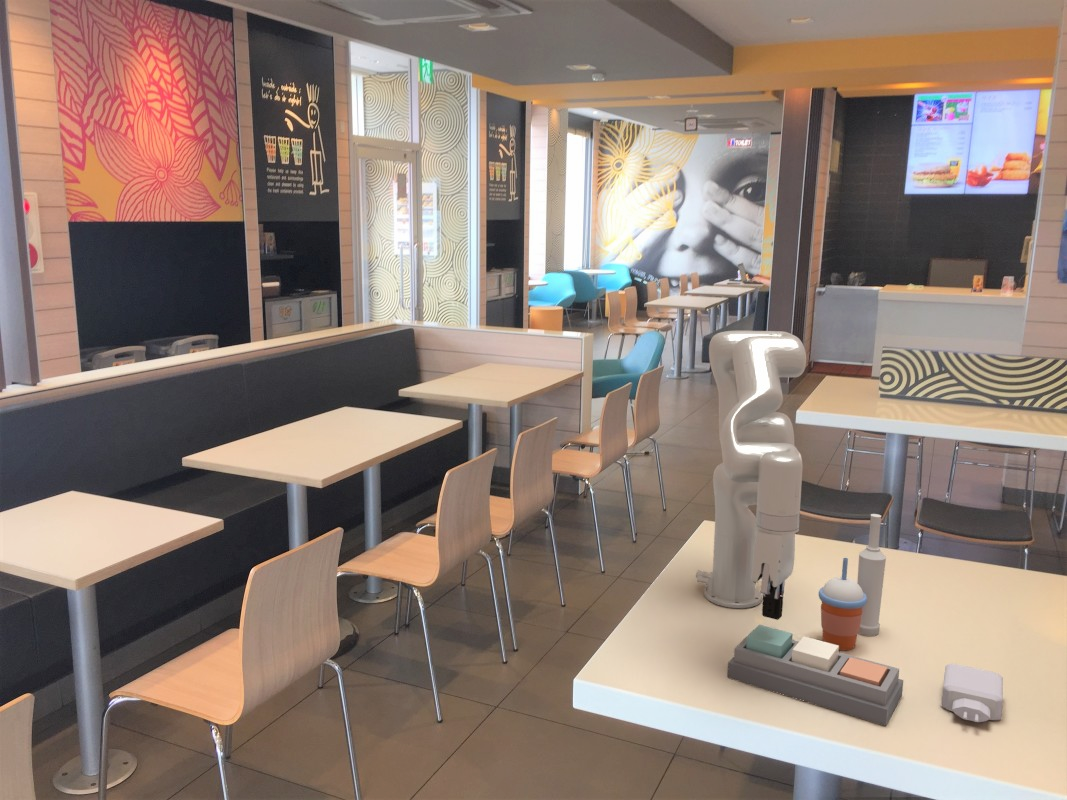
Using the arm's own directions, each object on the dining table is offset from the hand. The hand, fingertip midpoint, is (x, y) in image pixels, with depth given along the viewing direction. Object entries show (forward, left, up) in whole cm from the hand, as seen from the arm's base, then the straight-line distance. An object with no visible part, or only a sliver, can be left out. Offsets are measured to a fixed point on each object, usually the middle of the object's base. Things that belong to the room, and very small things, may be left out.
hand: (771, 616), depth 161 cm
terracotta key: (+17, 0, -9) cm, 19 cm away
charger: (+33, +8, -12) cm, 36 cm away
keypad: (+8, 0, -12) cm, 14 cm away
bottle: (+10, +29, -12) cm, 33 cm away
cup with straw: (+7, +20, -12) cm, 25 cm away
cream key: (+8, 0, -7) cm, 11 cm away
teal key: (0, 0, -7) cm, 7 cm away
